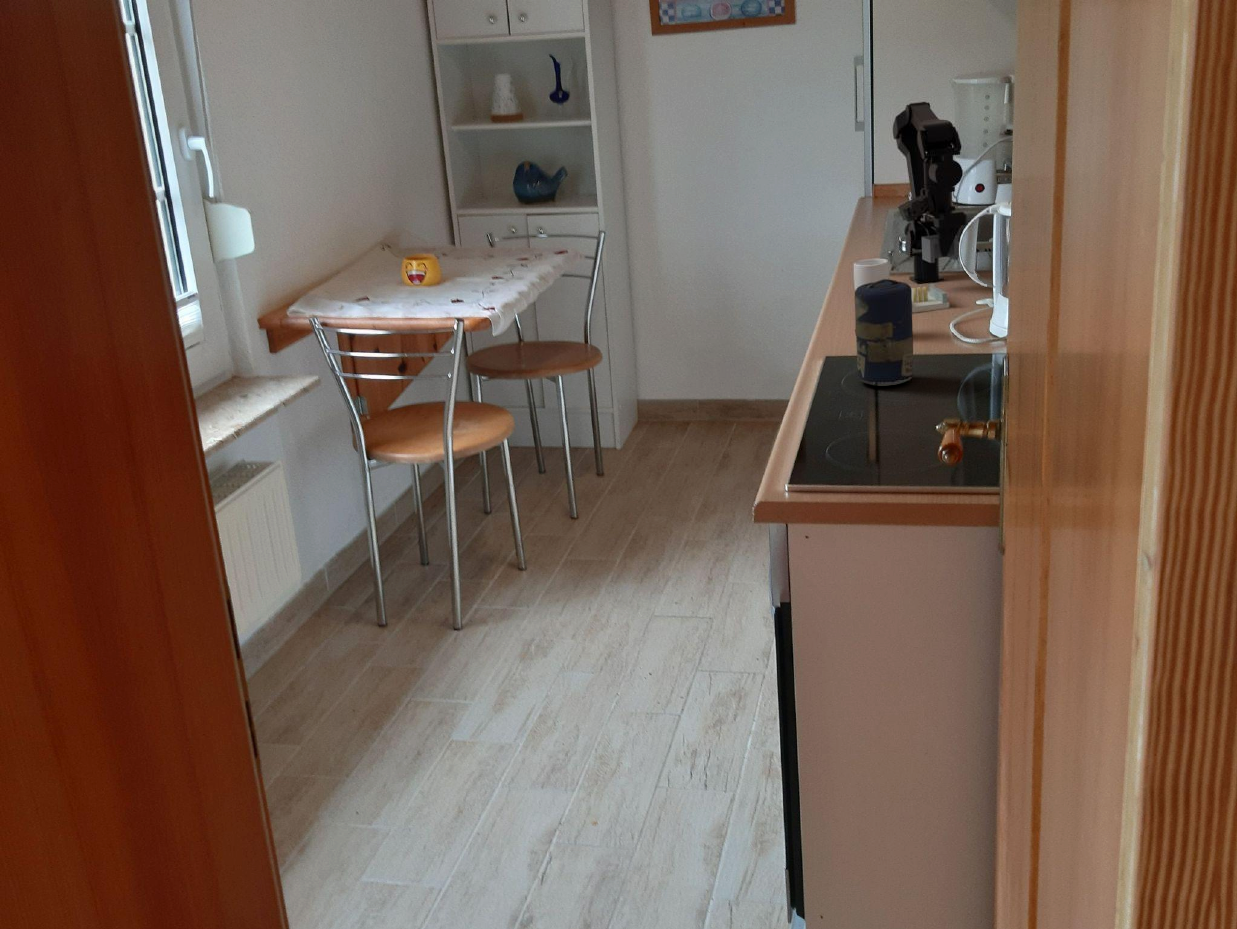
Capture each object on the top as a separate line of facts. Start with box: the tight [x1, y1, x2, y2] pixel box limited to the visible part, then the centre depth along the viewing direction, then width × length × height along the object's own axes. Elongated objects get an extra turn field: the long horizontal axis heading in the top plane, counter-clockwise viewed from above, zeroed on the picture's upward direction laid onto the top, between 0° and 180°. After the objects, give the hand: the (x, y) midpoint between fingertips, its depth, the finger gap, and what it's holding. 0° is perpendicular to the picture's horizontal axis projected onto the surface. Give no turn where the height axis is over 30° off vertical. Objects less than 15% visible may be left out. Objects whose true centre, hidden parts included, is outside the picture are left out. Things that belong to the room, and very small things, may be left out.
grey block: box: [922, 235, 959, 263], centre depth 264 cm, size 6×6×5 cm
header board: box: [911, 283, 950, 314], centre depth 260 cm, size 18×11×4 cm, turn 5°
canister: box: [854, 278, 915, 383], centre depth 204 cm, size 10×10×18 cm
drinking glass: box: [853, 258, 891, 292], centre depth 234 cm, size 7×7×15 cm
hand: (939, 254), depth 264 cm, fingers closed on grey block, 5 cm apart
